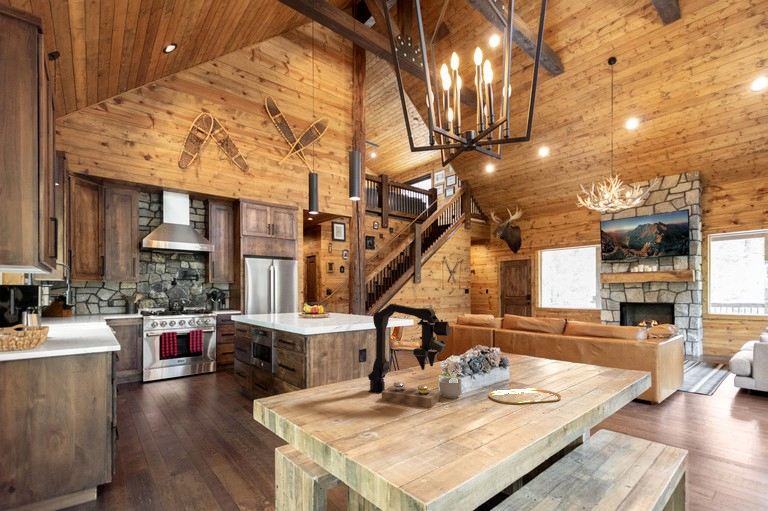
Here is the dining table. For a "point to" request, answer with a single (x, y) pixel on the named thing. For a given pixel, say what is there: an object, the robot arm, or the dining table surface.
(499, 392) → the gold ring
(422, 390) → the brass plug
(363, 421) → the dining table surface
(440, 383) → the teacup
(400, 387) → the grey plug
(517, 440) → the dining table surface
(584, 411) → the dining table surface
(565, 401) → the dining table surface
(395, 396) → the walnut block
